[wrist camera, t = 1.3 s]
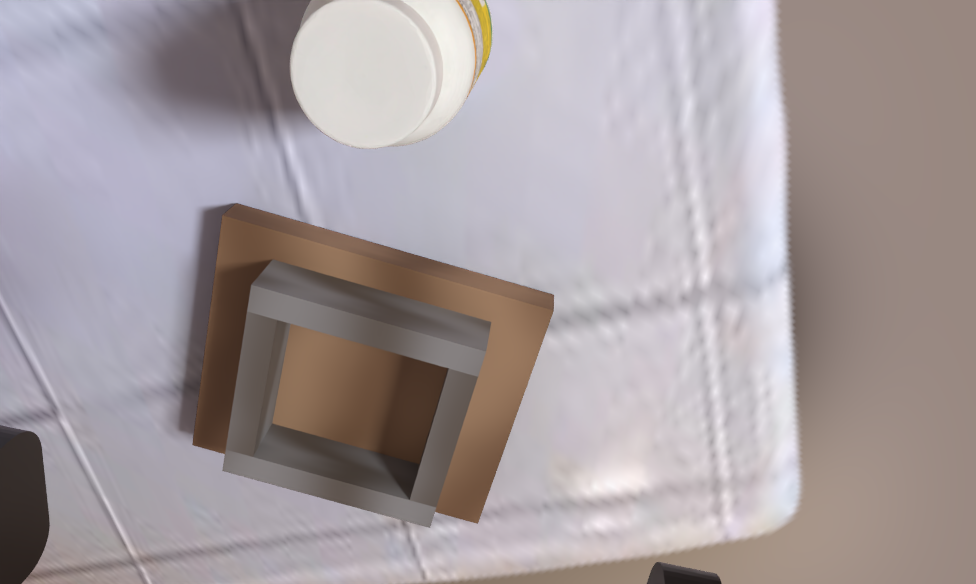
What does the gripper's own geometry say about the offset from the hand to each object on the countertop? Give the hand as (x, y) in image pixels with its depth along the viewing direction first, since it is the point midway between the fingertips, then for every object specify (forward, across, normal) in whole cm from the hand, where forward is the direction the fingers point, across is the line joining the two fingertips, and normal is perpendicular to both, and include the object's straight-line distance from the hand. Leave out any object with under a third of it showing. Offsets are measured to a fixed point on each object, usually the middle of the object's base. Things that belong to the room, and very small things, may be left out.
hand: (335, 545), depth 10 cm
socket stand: (+23, +4, +12) cm, 26 cm away
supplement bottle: (+23, +4, -3) cm, 23 cm away
